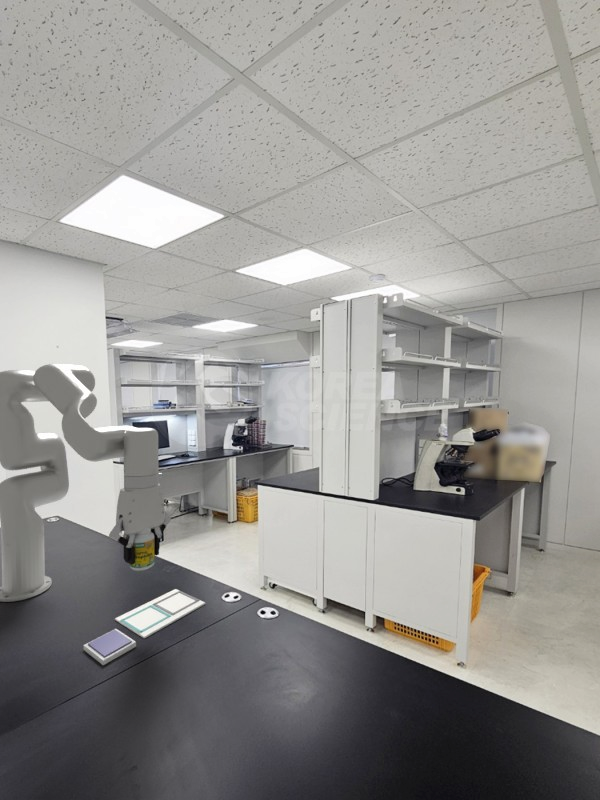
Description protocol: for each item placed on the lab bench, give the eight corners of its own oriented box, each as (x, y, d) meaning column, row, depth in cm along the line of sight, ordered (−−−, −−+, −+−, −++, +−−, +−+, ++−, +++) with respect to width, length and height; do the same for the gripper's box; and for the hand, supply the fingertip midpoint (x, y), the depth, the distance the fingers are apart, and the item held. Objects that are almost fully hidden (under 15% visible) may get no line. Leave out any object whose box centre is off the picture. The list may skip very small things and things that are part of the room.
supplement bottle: (151, 559, 95) (151, 520, 94) (156, 567, 90) (156, 526, 90) (127, 564, 92) (127, 524, 92) (131, 573, 87) (131, 531, 87)
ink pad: (83, 649, 81) (83, 643, 81) (116, 632, 87) (115, 627, 87) (103, 665, 77) (103, 658, 77) (136, 646, 82) (136, 640, 82)
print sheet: (115, 620, 92) (115, 618, 92) (175, 590, 106) (175, 588, 106) (144, 638, 85) (144, 636, 85) (205, 604, 99) (205, 602, 99)
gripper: (164, 473, 100) (164, 543, 100) (96, 486, 86) (97, 567, 86) (182, 476, 95) (182, 550, 96) (113, 491, 81) (114, 576, 82)
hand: (142, 557), depth 91 cm, fingers closed on supplement bottle, 5 cm apart
